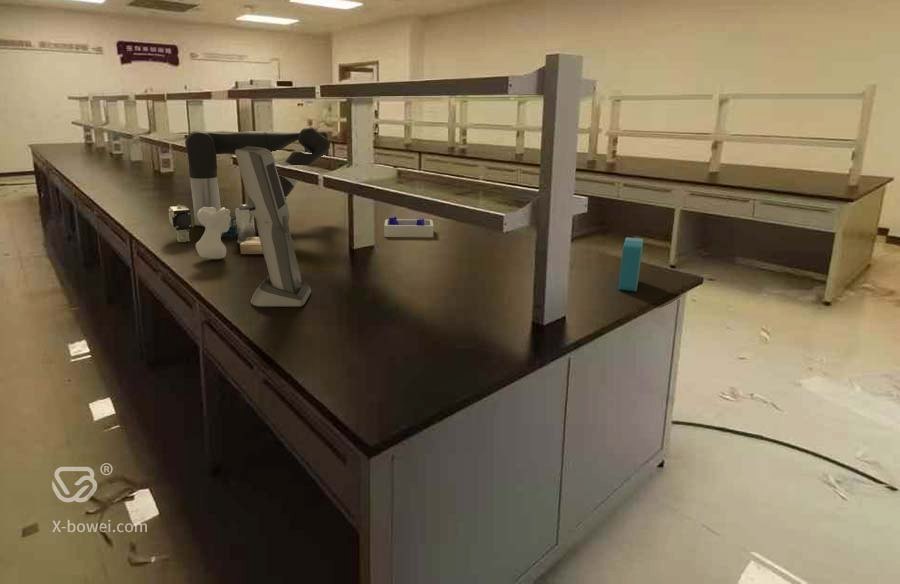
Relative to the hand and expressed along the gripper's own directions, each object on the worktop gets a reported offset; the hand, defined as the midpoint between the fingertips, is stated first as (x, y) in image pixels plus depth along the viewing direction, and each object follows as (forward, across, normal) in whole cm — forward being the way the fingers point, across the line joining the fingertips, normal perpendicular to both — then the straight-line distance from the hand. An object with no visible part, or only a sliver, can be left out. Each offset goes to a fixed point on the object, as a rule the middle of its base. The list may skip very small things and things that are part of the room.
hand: (255, 218), depth 189 cm
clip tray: (-27, -21, -39) cm, 52 cm away
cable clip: (-27, -20, -39) cm, 52 cm away
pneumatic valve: (+19, +14, +8) cm, 25 cm away
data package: (-34, -104, -46) cm, 118 cm away
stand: (+8, -11, -3) cm, 14 cm away
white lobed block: (+18, -14, +8) cm, 24 cm away
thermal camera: (+19, -58, +9) cm, 62 cm away
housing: (+8, +1, -3) cm, 8 cm away
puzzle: (+8, +15, -3) cm, 17 cm away
